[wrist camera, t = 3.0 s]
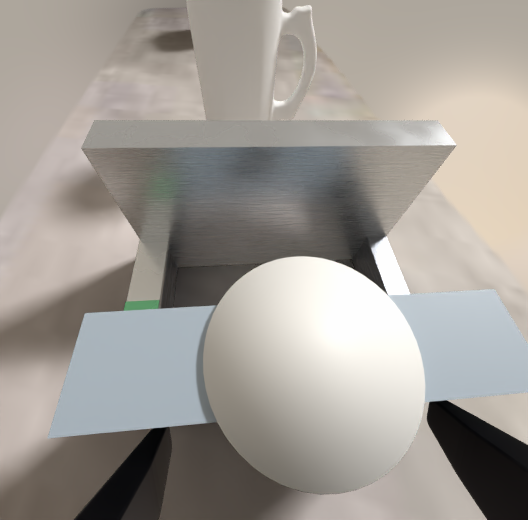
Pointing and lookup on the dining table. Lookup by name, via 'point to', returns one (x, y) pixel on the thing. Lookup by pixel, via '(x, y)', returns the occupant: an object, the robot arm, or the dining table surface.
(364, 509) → the dining table surface
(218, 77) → the mug
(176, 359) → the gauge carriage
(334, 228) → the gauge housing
